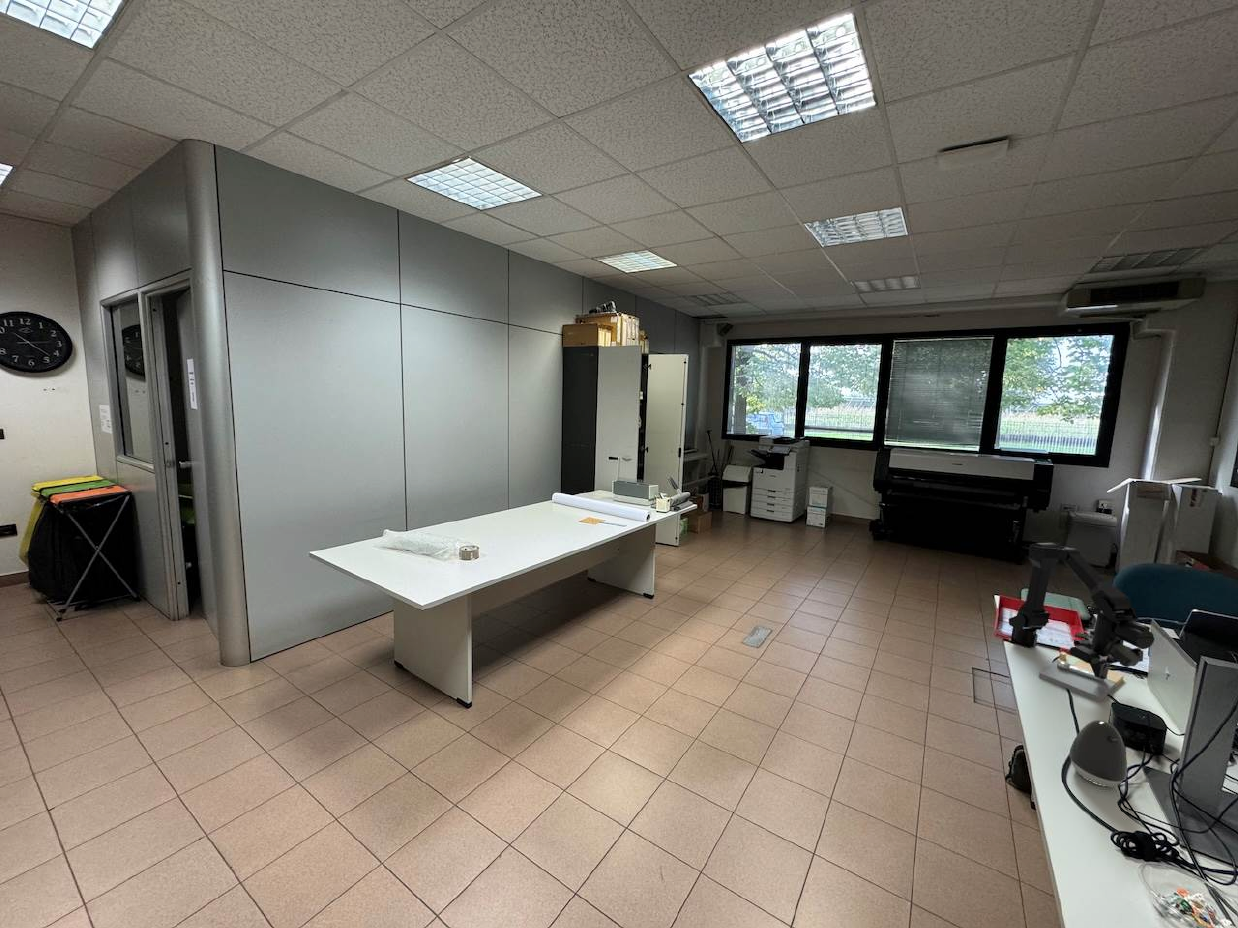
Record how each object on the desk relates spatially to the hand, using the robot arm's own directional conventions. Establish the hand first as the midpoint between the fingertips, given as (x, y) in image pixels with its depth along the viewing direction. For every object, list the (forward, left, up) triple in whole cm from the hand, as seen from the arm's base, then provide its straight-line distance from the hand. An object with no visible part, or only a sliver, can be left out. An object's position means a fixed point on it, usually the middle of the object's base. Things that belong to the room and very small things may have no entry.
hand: (1097, 676), depth 157 cm
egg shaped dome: (+13, -48, -4) cm, 50 cm away
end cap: (-8, +22, -4) cm, 24 cm away
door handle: (-4, +2, -2) cm, 5 cm away
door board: (-4, +2, -4) cm, 6 cm away
